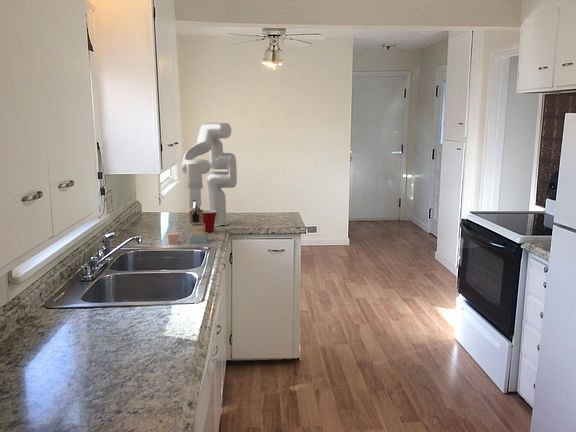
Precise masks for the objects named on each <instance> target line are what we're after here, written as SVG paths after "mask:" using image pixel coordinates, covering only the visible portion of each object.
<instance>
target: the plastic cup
mask: <svg viewBox="0 0 576 432" xmlns="http://www.w3.org/2000/svg"><path fill="white" fill-rule="evenodd" d="M202 210H203V223H205V232H207V234H209V233H210V234H211V233H213V232H214V230H215V226H214V225H215V217H216V213H217V211H213V210H210V209H209V210H206V209H205V210H204V209H202Z"/></svg>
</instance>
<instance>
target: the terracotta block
mask: <svg viewBox="0 0 576 432" xmlns="http://www.w3.org/2000/svg"><path fill="white" fill-rule="evenodd" d="M167 242H168V245H178V244H180V237H179V232H178V231H175V232H167Z"/></svg>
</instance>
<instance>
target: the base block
mask: <svg viewBox="0 0 576 432" xmlns="http://www.w3.org/2000/svg"><path fill="white" fill-rule="evenodd" d="M207 242H208V233H207V232H205V234H204V235H193V236H191V234H190V235H189V244H206V243H207Z"/></svg>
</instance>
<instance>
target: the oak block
mask: <svg viewBox="0 0 576 432" xmlns="http://www.w3.org/2000/svg"><path fill="white" fill-rule="evenodd" d="M190 231H191V233H190V235H191V236H193V235H204V234H205V223H195V224H191V226H190Z"/></svg>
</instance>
